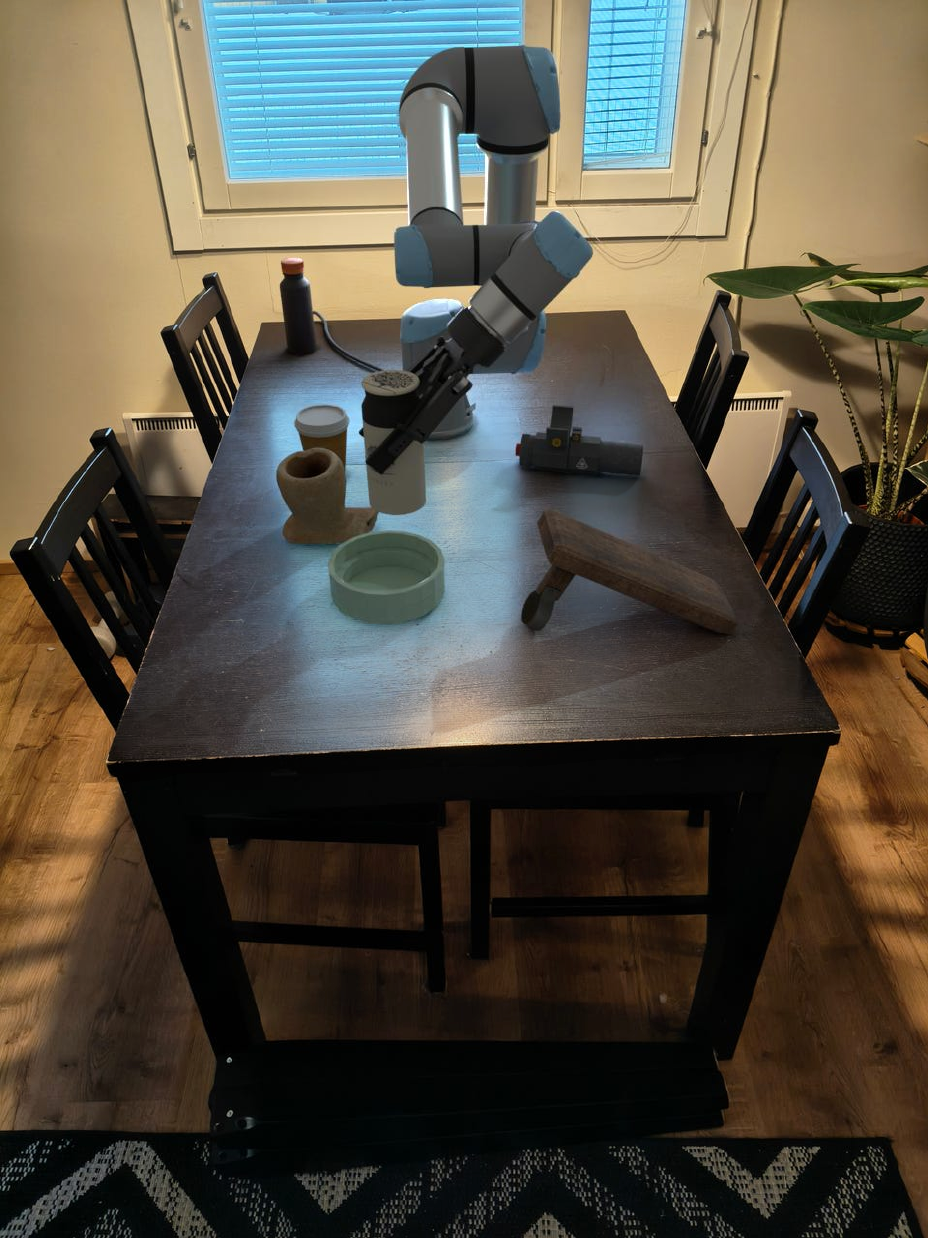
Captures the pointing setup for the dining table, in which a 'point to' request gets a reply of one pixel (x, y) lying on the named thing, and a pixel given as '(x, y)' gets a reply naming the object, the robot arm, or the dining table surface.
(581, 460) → the laser sight
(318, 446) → the disposable coffee cup
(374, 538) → the bowl
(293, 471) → the stone cup
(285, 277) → the water bottle
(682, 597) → the dark brown angled bar
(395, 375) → the travel mug
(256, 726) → the dining table surface
